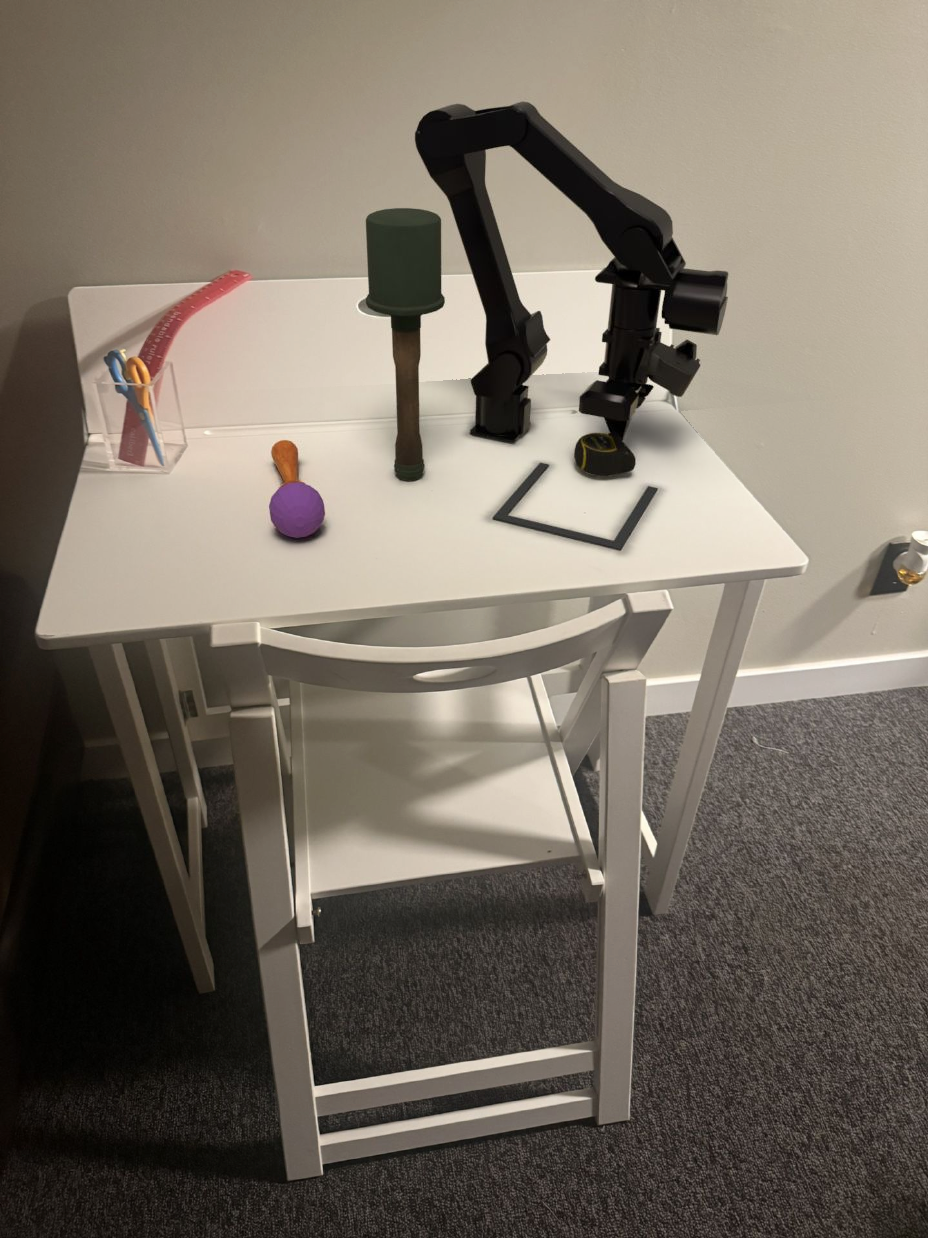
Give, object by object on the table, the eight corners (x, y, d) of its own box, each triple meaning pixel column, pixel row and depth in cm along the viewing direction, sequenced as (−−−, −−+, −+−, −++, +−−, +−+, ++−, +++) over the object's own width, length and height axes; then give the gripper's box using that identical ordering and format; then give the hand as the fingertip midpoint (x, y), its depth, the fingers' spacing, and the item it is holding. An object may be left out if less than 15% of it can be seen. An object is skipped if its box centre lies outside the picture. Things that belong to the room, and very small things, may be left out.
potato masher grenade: (447, 461, 114) (448, 207, 96) (439, 494, 107) (439, 227, 90) (381, 457, 115) (370, 204, 97) (369, 490, 108) (354, 224, 90)
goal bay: (492, 519, 103) (492, 517, 103) (540, 464, 114) (540, 462, 114) (620, 550, 98) (621, 548, 98) (657, 490, 109) (657, 487, 109)
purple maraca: (311, 431, 112) (330, 497, 95) (306, 476, 114) (324, 548, 98) (261, 427, 110) (273, 493, 93) (258, 473, 113) (269, 545, 96)
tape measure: (635, 480, 111) (639, 452, 109) (581, 483, 110) (584, 456, 108) (618, 455, 116) (621, 428, 114) (566, 458, 115) (569, 431, 113)
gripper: (681, 359, 98) (661, 487, 107) (716, 308, 111) (695, 425, 121) (583, 343, 101) (572, 468, 111) (628, 296, 115) (615, 410, 124)
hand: (617, 442), depth 117 cm, fingers closed
